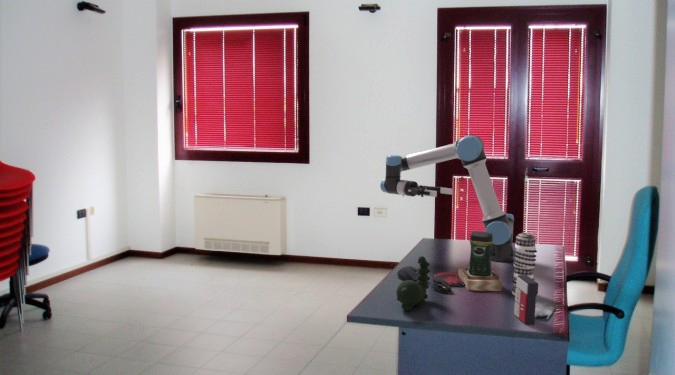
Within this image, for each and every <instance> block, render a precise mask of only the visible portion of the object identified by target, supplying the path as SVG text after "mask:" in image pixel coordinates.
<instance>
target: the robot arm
mask: <svg viewBox="0 0 675 375" xmlns="http://www.w3.org/2000/svg"><path fill="white" fill-rule="evenodd" d="M454 159H459V160H460V161H461V163H462V167H463V168H465V169H467V171H468V173H469V174H468V175H469V176H470V180H471V183H472V186H473V188H474V192H475V195H476V196H477V200H478V203H479V206H480V209H481V211H482V215H483V216H482V219H481V221H482V224H483V227H484V232H489V233H492V236H493V243H492V246H491V261H493V262H501V263H502V262H504V263H505V262H508V263H509V262H514V259H513V258H514V257H515V256H514V254H513V253H514V251H513V250H514V245H513V241H514V240H513V236H514V223H515V222H514V221H515V218H514V217H515V216H514V214H512V213H506V212H505V211H503V210H502V208H501V204H500V203H499V199H498V196H497V195H496V191H495V189H494V185H493V184H492V180H491V177H490V174H489V171H488V169H487V166H486V161H487V156H486V152H485V143H484V141H483V139H482V138H481V137H480V136H479V135H475V134H470V135H469V134H468V135H465V136H464V137H461V138H460V139H458V140H455V141H454V143H449V144H447V145H446V144H445V145H443V146H439V147H435V148H430V149H425V150H424V151H422V150H421V151H420V152H415V153H414V152H413V153H411V154H408V155H407V154H406V155H403V156H401V155H398V154H388V155H386V158H385V177H383V179H382V180H381V182H380V184H379V185H380V187H379V188H380V190H381V191H382V192H383V193H386V194H389V195H390V194H392V195H399V196H400V195H401V196H402V197H404V196H405V197H406V196H407V197H416V196H419V197H421V198H424V197H432V198H433V197H434V198H437V197H438V196H437V195H438V193H440V194H444V195H453V193H454V192H453V191H454V188H448V187H443V185H440V186H432V185H431V186H429V185H423V184H421V185H419V184H418V182H417V181H414V180H406V179H401V174H402V172H405V171H406V172H407V171H408V170H412V169H417V168H421V167H425V166H426V167H427V166H429V165H433V164H438V163H443V162H446V161H450V160H454Z"/></svg>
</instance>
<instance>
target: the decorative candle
mask: <svg viewBox="0 0 675 375" xmlns="http://www.w3.org/2000/svg"><path fill="white" fill-rule="evenodd" d="M515 238H516V239H515V245H514V247H513V249H514V250H513V251H514V253H513V254H514V256H515V257H514V258H513V259H514V261H512V264H513V267H514V270H513V276H512V284H511V286H512V287H511V294H512V295H513V296H515V291H516V288H517V287H516V283H517V276H518V275H527V276H529V277H530V278H531V279H533V280H534V281H535V277H534V270H535V269H534V268H536V267H535V266H536V264H535V262H536V261H537V259H536V257H537V255H536V254H535V253H537V252H538V250H536V248H537V247H536V240H537V237H535V235H534V234H533V233H530V232H520V233H518V234H517V235H516V236H515Z"/></svg>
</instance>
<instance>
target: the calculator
mask: <svg viewBox="0 0 675 375" xmlns="http://www.w3.org/2000/svg"><path fill="white" fill-rule="evenodd" d="M516 287H517V288H516V291H515V295H514V312H513V314H514V315H515V316H516V317H517V318H518V319H519V320H520V321H522V323H524V324H525V325H527V326H528V325H532V326H533V325H535V317H536V305H537V304H536V303H537V302H536V301H537V295H538V294H539V282H537V281H536V280H535V279H534V280H533V279H531V278H530V277H529V276H527V275H518V276H517V283H516Z"/></svg>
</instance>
